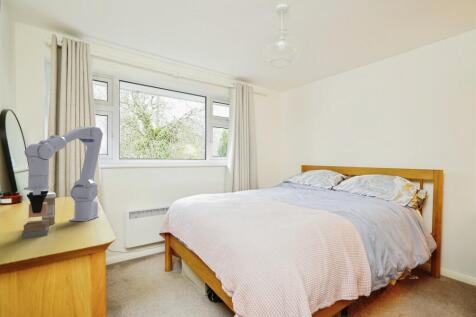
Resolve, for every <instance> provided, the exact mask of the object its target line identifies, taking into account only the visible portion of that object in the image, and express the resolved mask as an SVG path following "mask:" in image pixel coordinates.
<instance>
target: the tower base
mask: <svg viewBox="0 0 476 317" xmlns="http://www.w3.org/2000/svg"><path fill="white" fill-rule="evenodd" d="M49 231H50V225H49V226H48V227H47V229H46V230H42V231H33V232H24V230H22V233H21V239H29V238H37V237H42V236H48V235H49Z"/></svg>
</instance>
